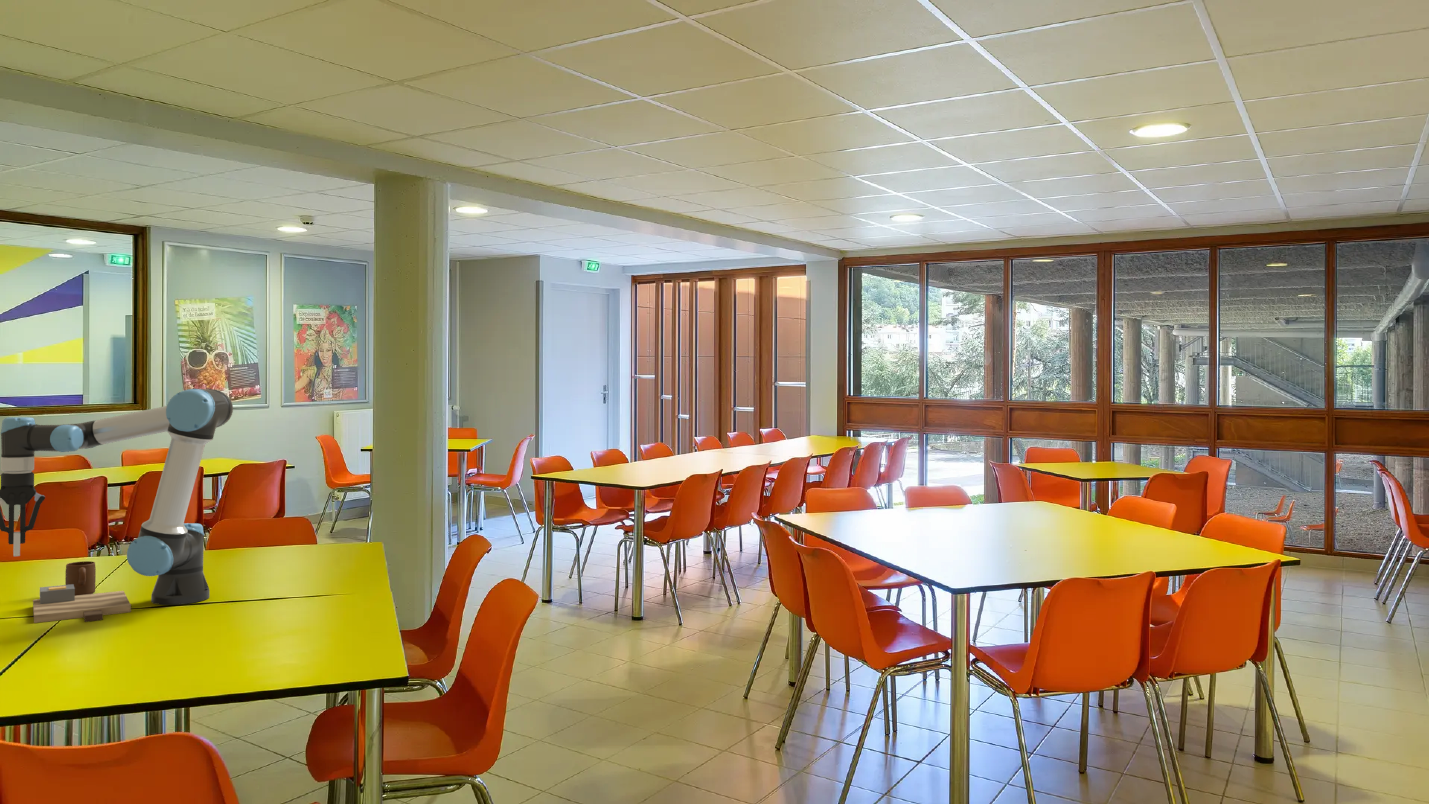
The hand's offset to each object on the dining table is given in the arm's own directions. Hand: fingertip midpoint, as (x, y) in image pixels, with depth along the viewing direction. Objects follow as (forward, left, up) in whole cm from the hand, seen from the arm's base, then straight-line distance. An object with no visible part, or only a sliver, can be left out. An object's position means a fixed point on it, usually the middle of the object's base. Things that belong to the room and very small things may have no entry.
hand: (16, 555), depth 259 cm
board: (-10, +15, -16) cm, 24 cm away
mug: (-20, -7, -16) cm, 26 cm away
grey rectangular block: (-9, +4, -14) cm, 17 cm away
